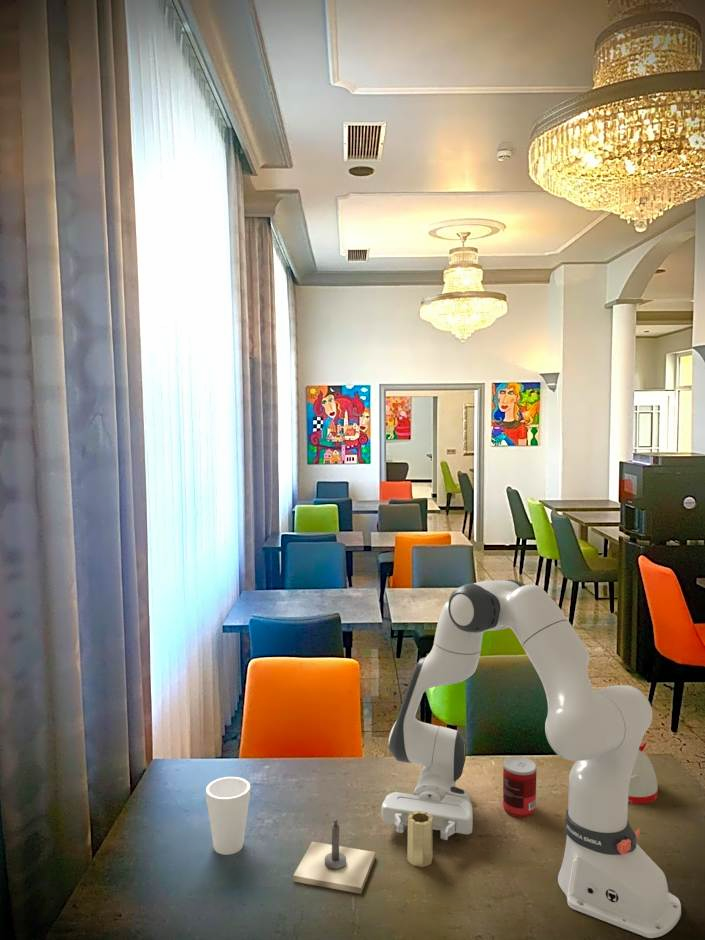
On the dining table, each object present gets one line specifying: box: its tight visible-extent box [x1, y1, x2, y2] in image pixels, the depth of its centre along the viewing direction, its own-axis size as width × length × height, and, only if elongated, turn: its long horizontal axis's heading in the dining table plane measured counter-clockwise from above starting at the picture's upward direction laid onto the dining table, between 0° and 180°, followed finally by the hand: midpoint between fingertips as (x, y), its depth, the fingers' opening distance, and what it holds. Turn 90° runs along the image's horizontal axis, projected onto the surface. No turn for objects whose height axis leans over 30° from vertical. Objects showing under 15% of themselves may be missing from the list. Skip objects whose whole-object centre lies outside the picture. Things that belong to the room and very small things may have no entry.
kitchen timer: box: [628, 742, 659, 804], centre depth 177 cm, size 14×14×15 cm
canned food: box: [502, 756, 538, 819], centre depth 167 cm, size 8×8×11 cm
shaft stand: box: [292, 818, 376, 895], centre depth 144 cm, size 14×12×10 cm
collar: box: [406, 811, 434, 868], centre depth 148 cm, size 5×5×9 cm
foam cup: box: [205, 776, 251, 856], centre depth 152 cm, size 10×9×13 cm
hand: (421, 832), depth 149 cm, fingers open, 8 cm apart
